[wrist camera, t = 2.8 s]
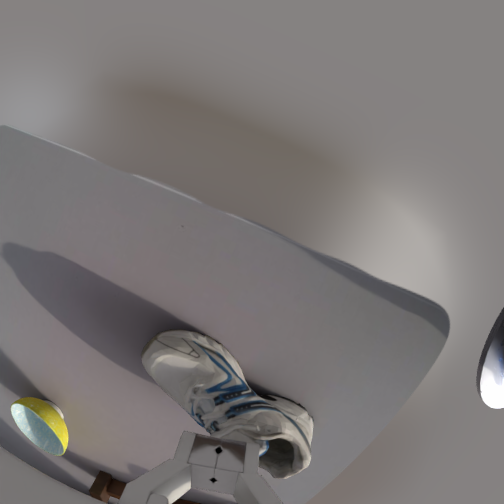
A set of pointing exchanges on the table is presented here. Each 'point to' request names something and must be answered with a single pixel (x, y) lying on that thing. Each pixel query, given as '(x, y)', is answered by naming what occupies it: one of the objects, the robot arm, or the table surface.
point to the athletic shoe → (229, 400)
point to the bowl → (41, 424)
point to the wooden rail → (114, 489)
